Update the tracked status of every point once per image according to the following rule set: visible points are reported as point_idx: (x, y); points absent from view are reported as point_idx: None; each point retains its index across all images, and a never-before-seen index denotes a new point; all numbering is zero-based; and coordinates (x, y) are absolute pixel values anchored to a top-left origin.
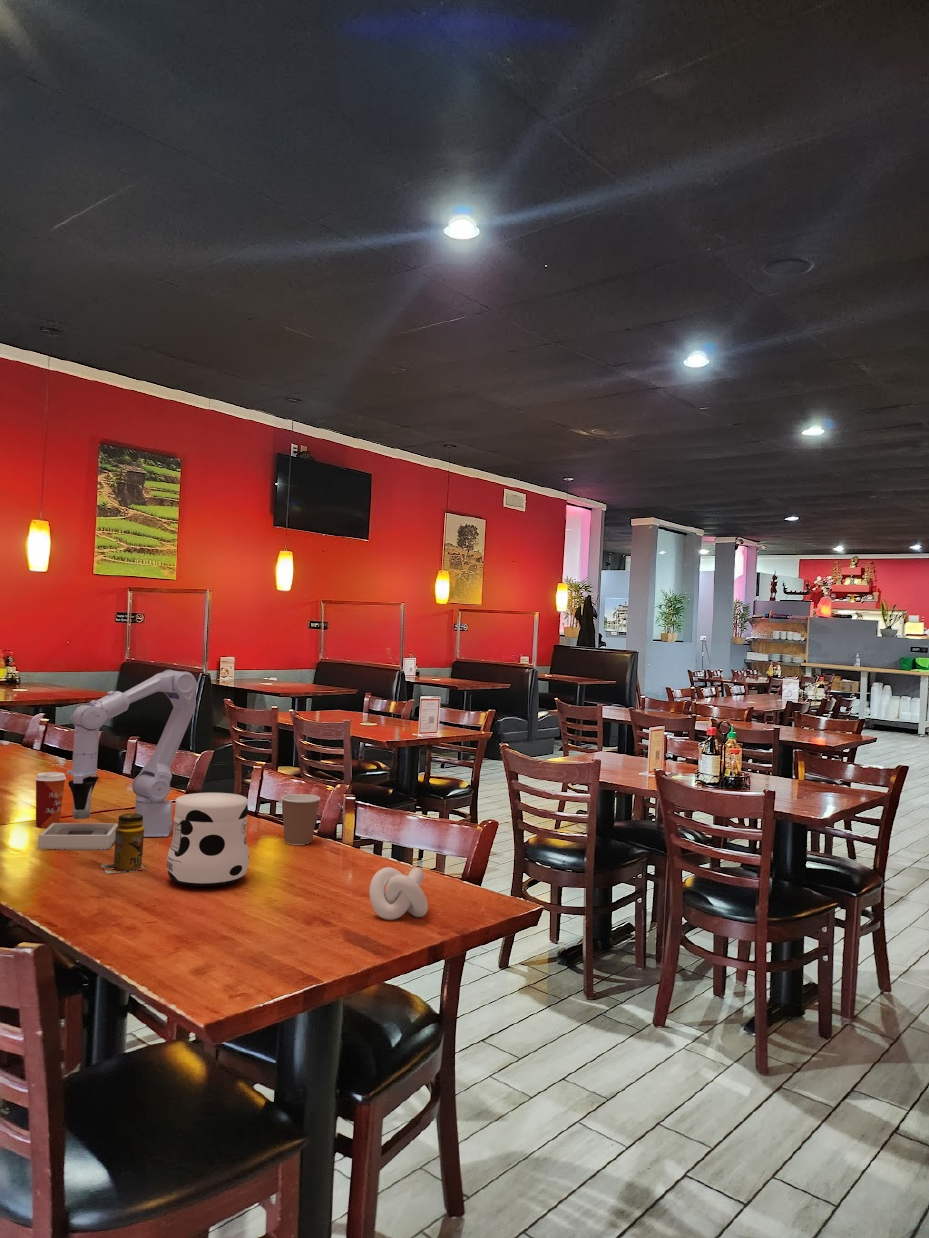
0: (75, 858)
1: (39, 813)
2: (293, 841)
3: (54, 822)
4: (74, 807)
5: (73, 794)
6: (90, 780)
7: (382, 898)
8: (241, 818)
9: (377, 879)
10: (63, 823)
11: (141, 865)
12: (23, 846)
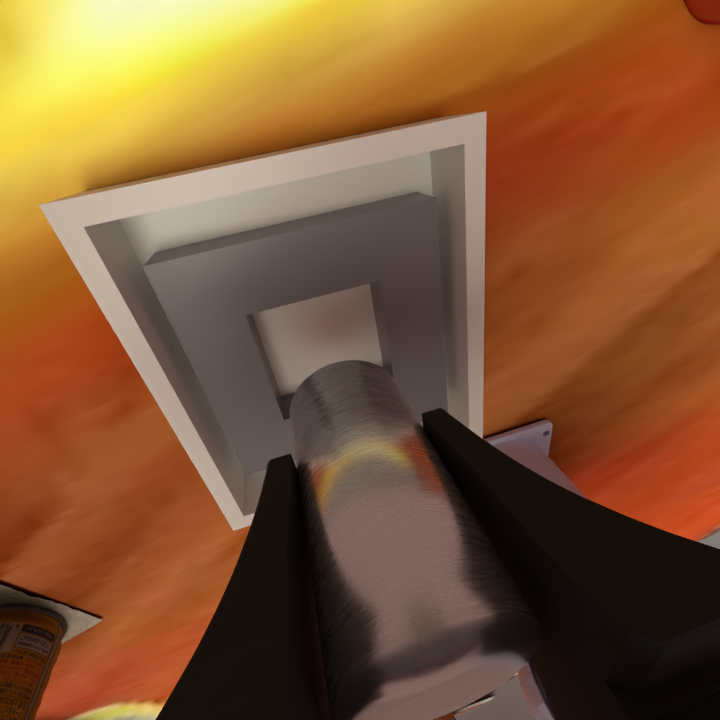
0: (30, 448)
1: None
2: None
3: (716, 2)
4: (307, 442)
5: (222, 607)
6: (576, 716)
7: None
8: None
9: None
10: (471, 200)
11: (66, 639)
12: (137, 27)
